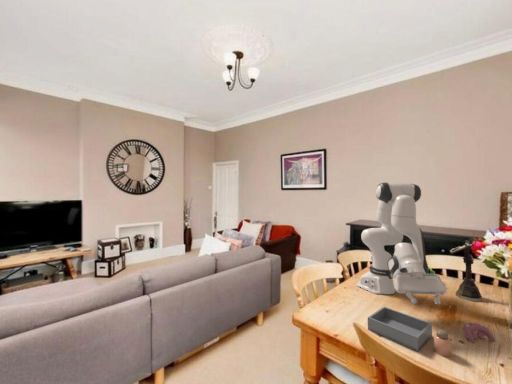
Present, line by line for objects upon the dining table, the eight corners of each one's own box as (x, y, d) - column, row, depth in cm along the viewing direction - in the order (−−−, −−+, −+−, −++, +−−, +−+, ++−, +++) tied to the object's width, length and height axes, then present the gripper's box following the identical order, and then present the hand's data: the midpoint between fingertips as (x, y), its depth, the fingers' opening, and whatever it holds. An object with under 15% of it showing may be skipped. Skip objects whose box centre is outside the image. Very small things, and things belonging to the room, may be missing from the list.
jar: (432, 351, 96) (431, 331, 96) (436, 346, 99) (436, 326, 99) (448, 358, 92) (448, 337, 92) (452, 352, 95) (452, 332, 95)
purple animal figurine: (488, 341, 104) (481, 322, 107) (497, 342, 100) (490, 323, 103) (464, 341, 104) (458, 322, 107) (472, 342, 100) (466, 323, 103)
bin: (367, 329, 111) (367, 317, 111) (384, 317, 121) (384, 306, 121) (417, 351, 96) (417, 337, 96) (432, 336, 106) (431, 323, 105)
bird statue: (442, 295, 146) (442, 236, 145) (448, 288, 154) (447, 233, 154) (480, 304, 133) (479, 240, 133) (483, 297, 141) (483, 236, 141)
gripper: (435, 277, 117) (449, 307, 107) (389, 275, 119) (399, 305, 109) (441, 270, 112) (456, 301, 102) (393, 269, 114) (403, 299, 105)
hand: (426, 303), depth 106 cm, fingers open, 8 cm apart
